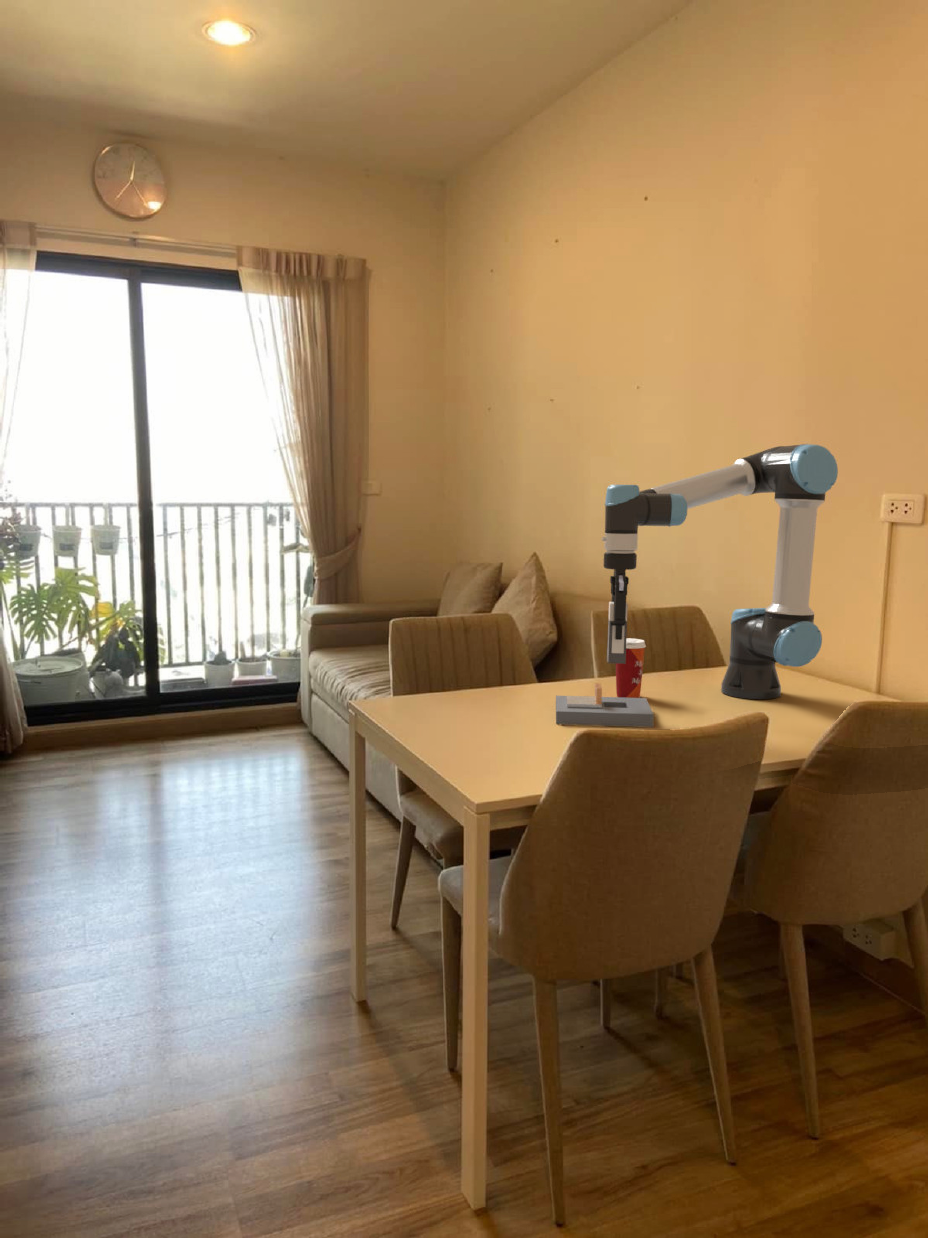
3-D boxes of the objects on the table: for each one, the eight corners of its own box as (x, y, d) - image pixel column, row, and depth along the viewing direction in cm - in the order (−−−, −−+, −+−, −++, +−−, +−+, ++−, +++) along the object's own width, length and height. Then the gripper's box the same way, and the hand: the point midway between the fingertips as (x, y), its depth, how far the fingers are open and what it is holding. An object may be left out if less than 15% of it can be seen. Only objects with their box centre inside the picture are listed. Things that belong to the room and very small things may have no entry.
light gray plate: (599, 700, 216) (600, 682, 215) (601, 708, 208) (602, 689, 207) (566, 699, 216) (566, 681, 216) (567, 707, 209) (567, 688, 208)
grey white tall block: (624, 660, 212) (626, 602, 210) (625, 663, 208) (627, 604, 206) (607, 659, 212) (609, 601, 210) (608, 663, 208) (610, 603, 206)
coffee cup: (644, 701, 228) (646, 643, 226) (611, 699, 230) (613, 642, 228) (644, 694, 236) (646, 638, 234) (612, 692, 238) (614, 637, 236)
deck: (645, 710, 219) (645, 698, 219) (653, 727, 203) (653, 714, 203) (555, 707, 221) (555, 695, 221) (556, 723, 205) (556, 711, 205)
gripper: (601, 549, 215) (598, 644, 218) (606, 554, 198) (602, 657, 202) (633, 549, 214) (629, 645, 218) (640, 554, 198) (636, 658, 201)
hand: (616, 650), depth 210 cm, fingers closed on grey white tall block, 4 cm apart
